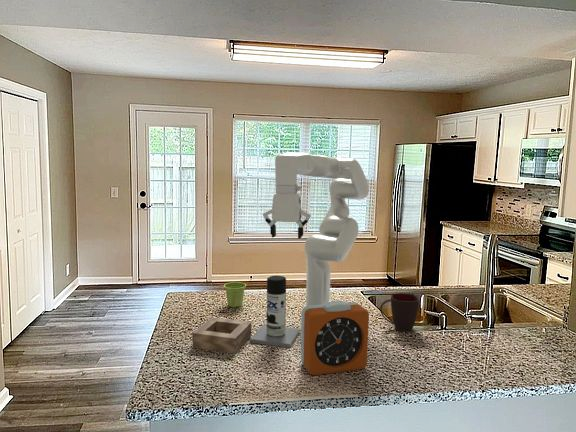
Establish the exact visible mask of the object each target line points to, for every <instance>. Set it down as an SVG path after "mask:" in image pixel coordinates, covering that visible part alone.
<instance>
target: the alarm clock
mask: <svg viewBox="0 0 576 432" xmlns="http://www.w3.org/2000/svg"><path fill="white" fill-rule="evenodd" d="M304 306H305V307H304ZM304 306H303V307H302V308H303V309H301V328H300V331H301V332H300V333H301V335H300V339H301V340H300V362H301V363H302V365H303V367H304V368H305V369H306V371H307V372H308V373H309V375H311V376H318V375H327V374H328V375H329V374H334V373H341V372H349V371H350V372H351V371H359V370H363V369H366V367H367V365H368V346H369V345H368V344H369V328H370V327H369V323H370V314H369V311H368V310H367V309H366V308H365V307H363V306H362V305H360V304H359V303H358V302H356V301H348V302H347V301H344V300H331V302H328V303H326V304H322V305H310V306H306V305H304Z"/></svg>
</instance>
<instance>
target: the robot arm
mask: <svg viewBox="0 0 576 432" xmlns="http://www.w3.org/2000/svg"><path fill="white" fill-rule="evenodd" d="M274 167H275V170H274V173H275V174H274V175H275V193H273V196H272V197H273V198H272V204H271V205H272V206H271V209H269V210H267V211H266V212H264V213H262V216H263V218H264V221H265V222H266V223H267V225H268V226H269V227H270V229H269V231H270V232H269V233H270V235H271V238H274V237H276V236H277V225H276V222H279V223H282V222H283V223H296V224H297V225H298V228H297V239H298V240H300V239H301V238H302V237H303V236H304V227H305V225H307V224H308V222H309V221H310V219H311V217H312V215H311V213H308V212H306V211H305V210H302V202H301V194H300V192H298V191H302V186H299V185H298V175H299V176H306V177H312V178H322V179H323V178H324V179H332V181H331V182H330V185H329V197H330V207H329V209H328V210H327V212H326V214H325V216H324V217H323V219H322V221H321V223H320V225H319V228H318V229H319V230H318V231H319V234H313V235H310V236H308V237H307V238H306V239H305V242H304V252H305V253H304V254H305V260H306V281H305V282H306V284H305V285H306V288H305V290H306V291H305V292H306V293H305V294H306V295H305V305H304V306H303V307H305V306H310V305H322V304H326V303H328V302H331V301H332V300H331V299H330V298H331V295H330V294H331V267H330V264H329V262H332V263H343V262H344V261H345V260H346V258H347V257H348V255H349V253H350V251H351V249H352V247H353V245H354V244H355V241H356V240H357V237H358V235H359V223H358V221H357V220H356V219H354V218H353V217H349V216H350V208H349V205H348V204H347V201H346V199H347V200H365V198H367V197H368V195H369V192H370V187H369V182H368V180H367V178H366V175H365V172H364V171H363V168H362V166H361V164H360V163H359V162H358V160H357V159H355V158H351V157H350V158H342V157H333V156H328V155H327V156H326V155H321V154H310V153H307V152H283V153H279V154H277V155H276V156H275V159H274ZM270 215H271V218H272V219H271V218H269V216H270ZM303 216H304V220H303V221H302V218H303ZM303 307H302V309H303ZM302 309H301V310H302Z"/></svg>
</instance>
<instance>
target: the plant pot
mask: <svg viewBox="0 0 576 432" xmlns="http://www.w3.org/2000/svg"><path fill="white" fill-rule="evenodd" d="M246 287H247V284H246V283H244V282H239V281H231V282H227V283H225V284H224V285H223V288H224V290H225V295H226V301H227V306H229V307H232V308H236V307H241V306H243V301H244V295H245V290H246Z"/></svg>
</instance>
